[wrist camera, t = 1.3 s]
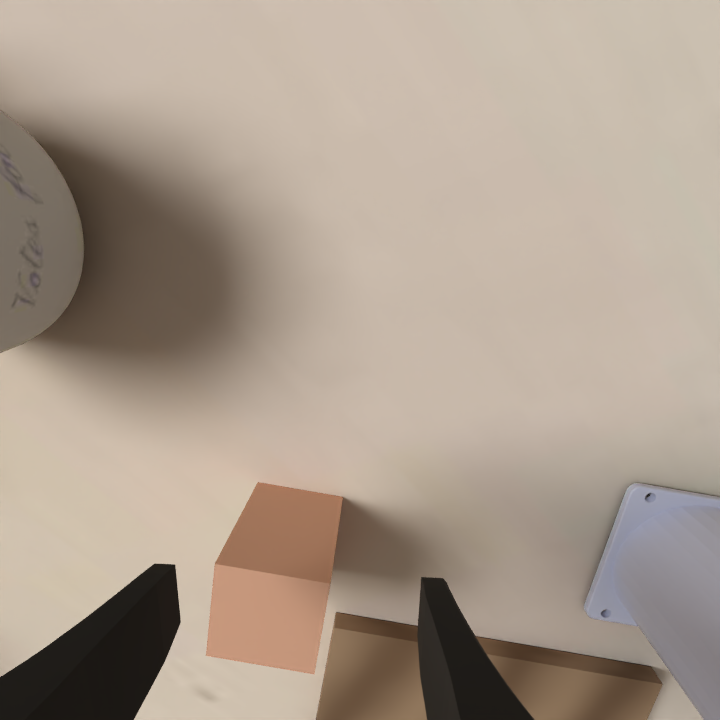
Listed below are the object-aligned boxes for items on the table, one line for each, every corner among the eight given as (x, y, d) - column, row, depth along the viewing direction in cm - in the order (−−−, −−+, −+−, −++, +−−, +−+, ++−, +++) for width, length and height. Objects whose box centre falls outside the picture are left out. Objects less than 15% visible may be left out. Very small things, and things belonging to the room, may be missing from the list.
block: (343, 496, 22) (330, 583, 16) (330, 568, 23) (314, 674, 17) (258, 482, 22) (214, 563, 16) (249, 554, 23) (206, 655, 17)
